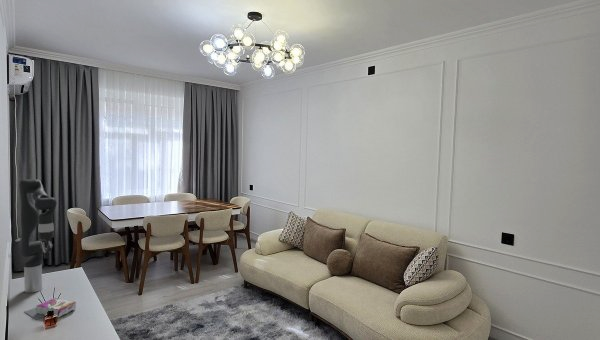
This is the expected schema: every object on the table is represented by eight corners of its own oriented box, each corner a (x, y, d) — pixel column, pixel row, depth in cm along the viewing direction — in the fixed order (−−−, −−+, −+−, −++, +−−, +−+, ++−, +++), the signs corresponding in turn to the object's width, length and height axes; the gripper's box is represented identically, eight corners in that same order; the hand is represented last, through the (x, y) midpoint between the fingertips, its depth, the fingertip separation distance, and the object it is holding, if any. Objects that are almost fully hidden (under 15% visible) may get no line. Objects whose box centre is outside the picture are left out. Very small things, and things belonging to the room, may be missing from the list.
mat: (24, 312, 192) (24, 311, 192) (51, 303, 204) (51, 302, 204) (36, 319, 184) (36, 319, 184) (64, 309, 196) (64, 309, 196)
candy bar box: (54, 297, 200) (76, 301, 197) (54, 305, 201) (76, 309, 197) (35, 305, 190) (58, 309, 186) (35, 313, 190) (58, 318, 186)
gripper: (33, 229, 201) (34, 257, 202) (43, 233, 194) (44, 261, 195) (48, 227, 207) (48, 254, 208) (58, 230, 200) (58, 258, 201)
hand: (46, 258), depth 201 cm, fingers closed
